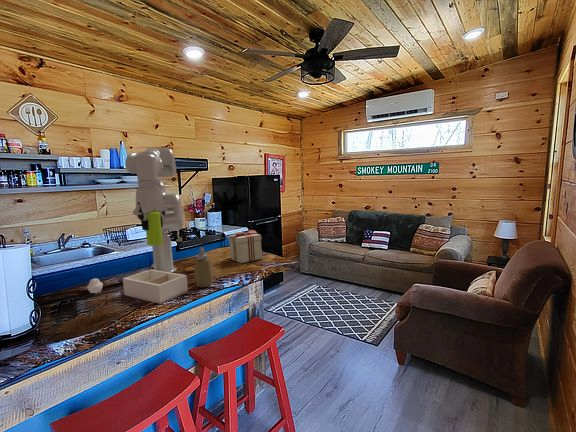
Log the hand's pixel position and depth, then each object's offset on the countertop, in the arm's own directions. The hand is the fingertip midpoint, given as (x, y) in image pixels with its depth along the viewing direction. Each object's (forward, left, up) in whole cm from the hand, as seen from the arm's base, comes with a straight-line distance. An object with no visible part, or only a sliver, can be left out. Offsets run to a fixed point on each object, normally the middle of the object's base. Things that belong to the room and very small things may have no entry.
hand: (152, 228), depth 126 cm
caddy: (-4, +1, -29) cm, 30 cm away
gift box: (-3, +62, -30) cm, 69 cm away
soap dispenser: (0, 0, -7) cm, 7 cm away
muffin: (-31, -10, -30) cm, 44 cm away
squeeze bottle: (+9, +17, -30) cm, 35 cm away
